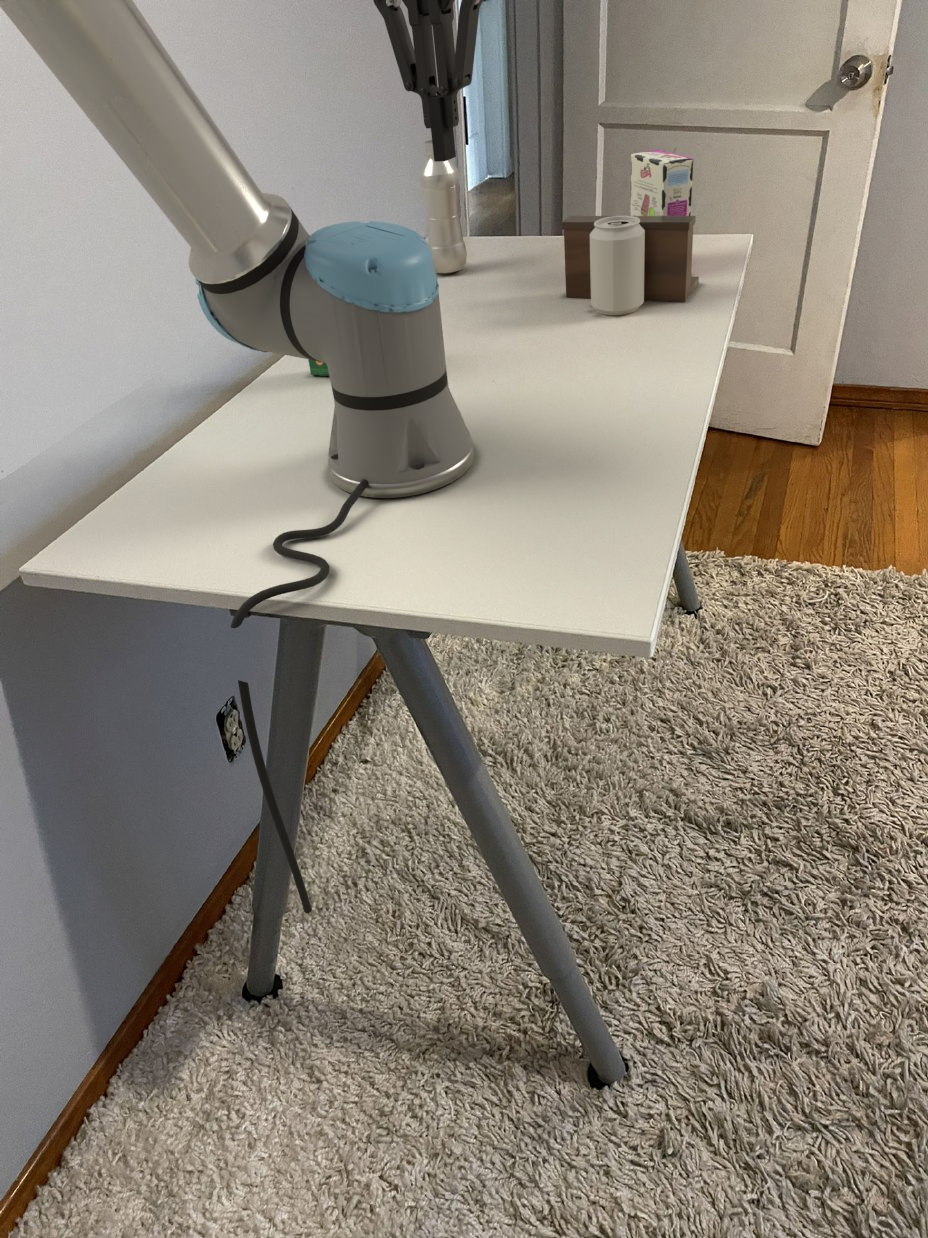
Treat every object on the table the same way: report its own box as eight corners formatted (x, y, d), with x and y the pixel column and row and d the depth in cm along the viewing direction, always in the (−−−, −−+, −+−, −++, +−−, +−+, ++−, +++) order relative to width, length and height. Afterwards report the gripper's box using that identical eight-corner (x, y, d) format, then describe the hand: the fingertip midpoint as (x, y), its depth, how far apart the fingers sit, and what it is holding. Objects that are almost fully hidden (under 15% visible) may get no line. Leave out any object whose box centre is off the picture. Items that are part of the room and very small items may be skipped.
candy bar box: (690, 275, 140) (695, 157, 131) (660, 281, 139) (663, 162, 130) (656, 258, 149) (658, 147, 139) (628, 264, 148) (628, 152, 139)
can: (647, 299, 133) (648, 211, 126) (640, 316, 127) (641, 225, 120) (595, 300, 135) (594, 213, 128) (586, 317, 129) (584, 227, 122)
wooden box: (686, 302, 130) (689, 222, 124) (564, 298, 137) (561, 221, 131) (700, 284, 136) (703, 207, 130) (582, 281, 143) (580, 207, 137)
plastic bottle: (423, 272, 157) (407, 142, 145) (459, 263, 159) (446, 135, 147) (438, 280, 152) (423, 146, 140) (475, 271, 154) (463, 139, 142)
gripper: (493, -104, 94) (508, 151, 107) (384, -87, 99) (412, 153, 113) (460, -104, 88) (481, 164, 102) (347, -86, 94) (381, 166, 107)
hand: (445, 158), depth 107 cm, fingers closed
